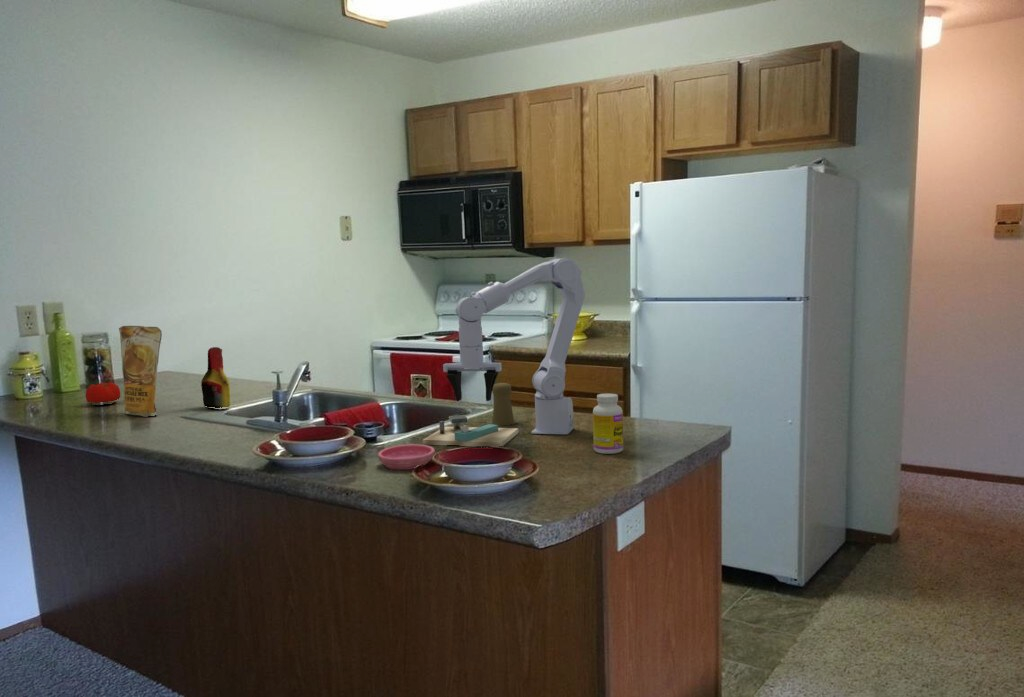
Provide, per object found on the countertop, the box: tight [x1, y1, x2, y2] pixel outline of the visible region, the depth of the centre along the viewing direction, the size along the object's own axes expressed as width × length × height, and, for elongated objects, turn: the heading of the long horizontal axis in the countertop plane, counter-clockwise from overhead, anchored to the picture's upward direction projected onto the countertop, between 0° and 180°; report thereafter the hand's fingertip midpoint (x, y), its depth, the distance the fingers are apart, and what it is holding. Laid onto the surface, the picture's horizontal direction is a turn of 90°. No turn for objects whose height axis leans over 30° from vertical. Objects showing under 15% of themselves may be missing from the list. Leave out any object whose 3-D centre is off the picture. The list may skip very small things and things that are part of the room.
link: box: [455, 423, 499, 441], centre depth 188 cm, size 13×4×2 cm, turn 144°
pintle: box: [461, 424, 469, 433], centre depth 184 cm, size 1×1×3 cm
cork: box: [491, 382, 515, 427], centre depth 206 cm, size 6×6×11 cm
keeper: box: [438, 414, 468, 434], centre depth 194 cm, size 6×7×5 cm
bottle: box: [200, 346, 231, 408], centre depth 244 cm, size 12×6×20 cm, turn 52°
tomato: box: [85, 381, 121, 403], centre depth 262 cm, size 11×11×8 cm
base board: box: [422, 426, 520, 447], centre depth 190 cm, size 20×15×1 cm
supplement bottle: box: [592, 393, 624, 455], centre depth 172 cm, size 7×7×13 cm
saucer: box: [377, 443, 436, 471], centre depth 168 cm, size 12×12×3 cm
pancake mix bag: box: [118, 325, 163, 413], centre depth 239 cm, size 7×19×28 cm, turn 57°
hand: (473, 400), depth 189 cm, fingers open, 7 cm apart
